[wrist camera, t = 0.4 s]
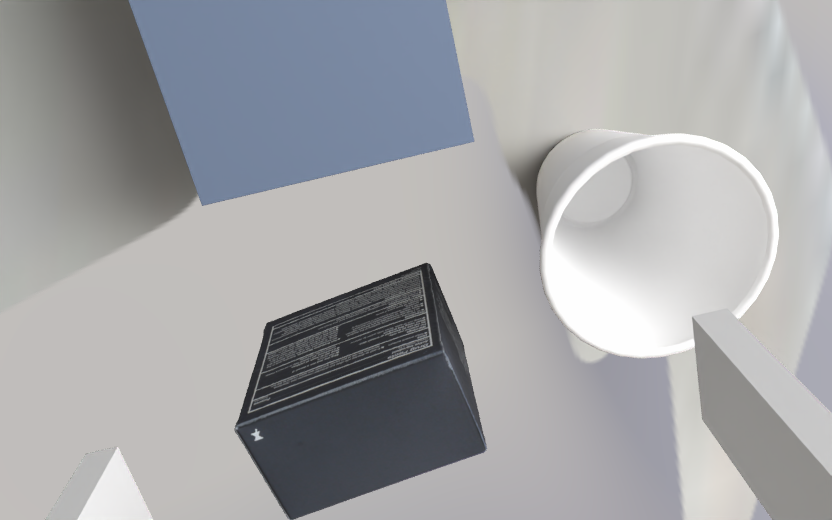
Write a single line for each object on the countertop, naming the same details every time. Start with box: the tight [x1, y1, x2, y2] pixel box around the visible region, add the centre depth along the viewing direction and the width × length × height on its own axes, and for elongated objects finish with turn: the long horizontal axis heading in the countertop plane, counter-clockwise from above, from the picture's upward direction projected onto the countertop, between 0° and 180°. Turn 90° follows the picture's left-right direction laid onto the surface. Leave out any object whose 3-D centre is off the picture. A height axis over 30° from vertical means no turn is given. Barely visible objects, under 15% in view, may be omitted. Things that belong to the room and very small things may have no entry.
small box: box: [235, 263, 487, 520], centre depth 38 cm, size 11×6×10 cm, turn 112°
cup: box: [536, 129, 779, 358], centre depth 35 cm, size 10×10×11 cm
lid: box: [129, 0, 474, 206], centre depth 30 cm, size 14×12×5 cm
